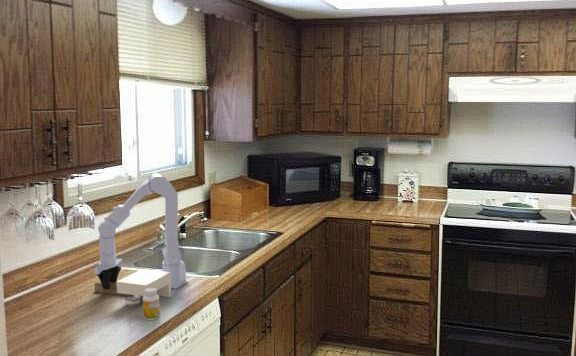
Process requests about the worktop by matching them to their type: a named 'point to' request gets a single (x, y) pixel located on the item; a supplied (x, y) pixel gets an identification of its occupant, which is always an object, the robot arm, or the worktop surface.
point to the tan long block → (111, 289)
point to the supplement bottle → (151, 304)
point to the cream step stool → (146, 283)
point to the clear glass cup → (132, 301)
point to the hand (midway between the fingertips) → (109, 287)
